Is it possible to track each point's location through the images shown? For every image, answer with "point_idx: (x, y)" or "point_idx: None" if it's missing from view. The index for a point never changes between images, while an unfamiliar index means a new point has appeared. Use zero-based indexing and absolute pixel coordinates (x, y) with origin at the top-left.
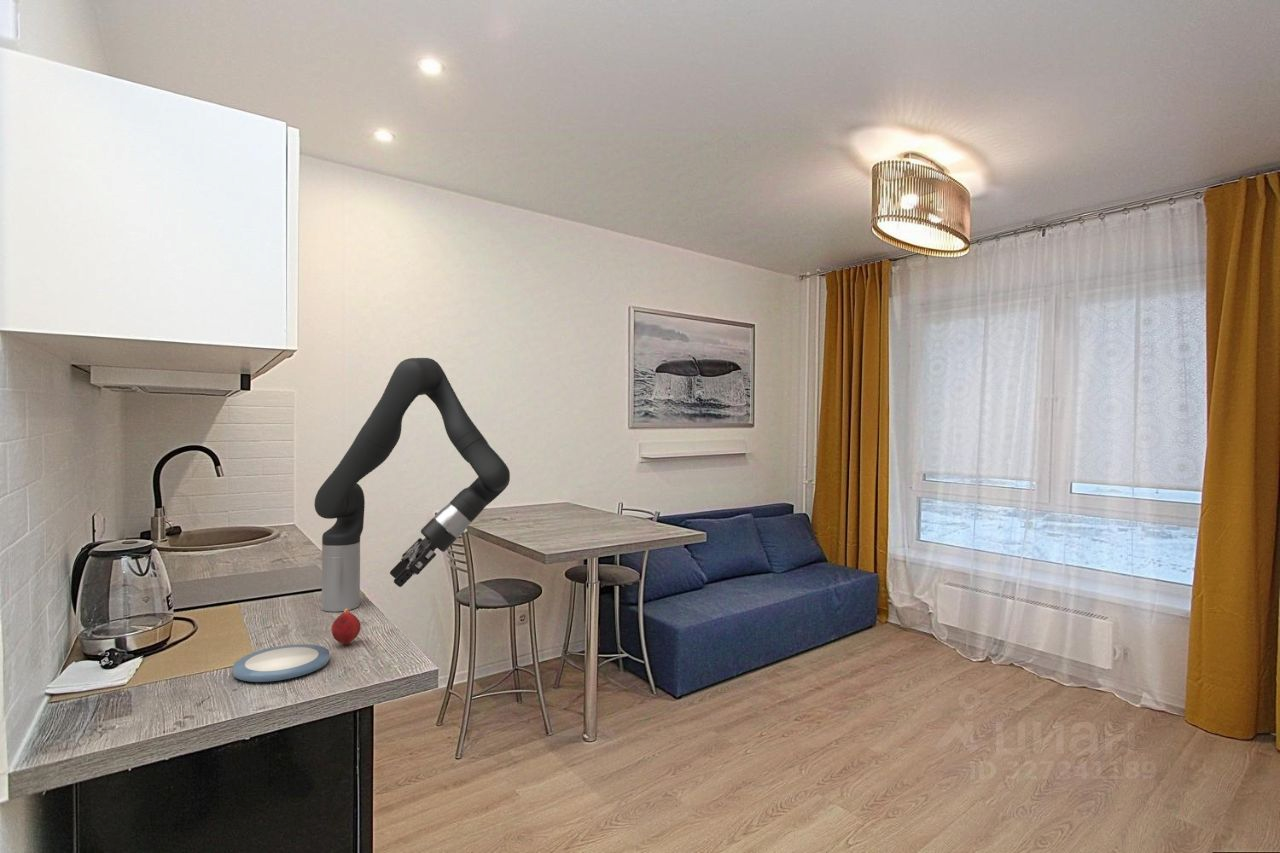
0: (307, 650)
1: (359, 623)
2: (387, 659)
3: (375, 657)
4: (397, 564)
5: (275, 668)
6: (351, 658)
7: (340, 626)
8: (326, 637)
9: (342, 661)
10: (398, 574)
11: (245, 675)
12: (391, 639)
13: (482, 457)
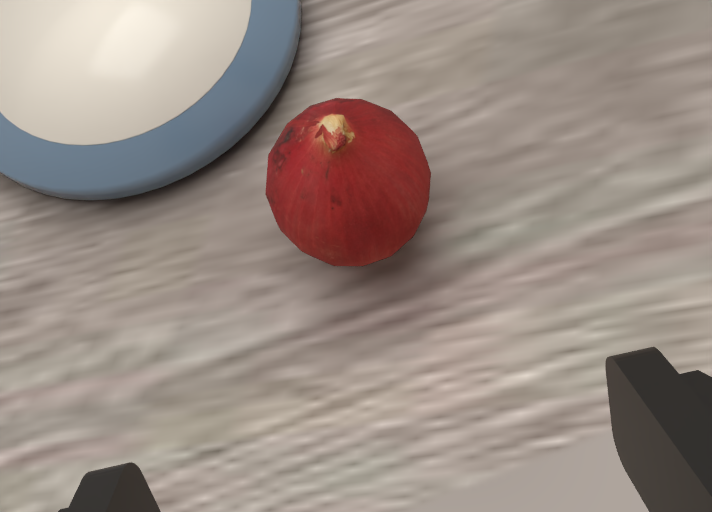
0: (184, 82)
1: (342, 247)
2: (68, 478)
3: (121, 409)
4: (706, 451)
5: (3, 30)
6: (148, 291)
7: (269, 153)
8: (514, 102)
9: (121, 258)
10: (643, 480)
11: None
12: (406, 463)
13: None
